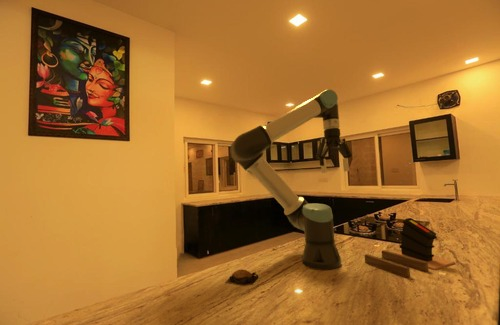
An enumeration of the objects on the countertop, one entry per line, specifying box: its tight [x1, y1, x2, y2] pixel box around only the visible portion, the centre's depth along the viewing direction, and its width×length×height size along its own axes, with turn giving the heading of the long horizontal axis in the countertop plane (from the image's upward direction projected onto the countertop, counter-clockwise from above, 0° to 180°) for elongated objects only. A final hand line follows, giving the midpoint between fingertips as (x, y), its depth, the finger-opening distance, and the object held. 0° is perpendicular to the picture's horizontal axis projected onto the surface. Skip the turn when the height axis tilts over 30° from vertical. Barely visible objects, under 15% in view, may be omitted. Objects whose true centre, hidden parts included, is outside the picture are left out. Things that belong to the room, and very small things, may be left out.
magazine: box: [399, 217, 438, 261], centre depth 95 cm, size 4×13×15 cm, turn 18°
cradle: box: [364, 249, 430, 279], centre depth 88 cm, size 11×17×3 cm, turn 22°
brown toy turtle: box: [225, 269, 259, 286], centre depth 85 cm, size 11×8×4 cm
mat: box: [395, 250, 456, 271], centre depth 94 cm, size 12×18×1 cm, turn 22°
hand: (335, 172), depth 116 cm, fingers open, 13 cm apart
